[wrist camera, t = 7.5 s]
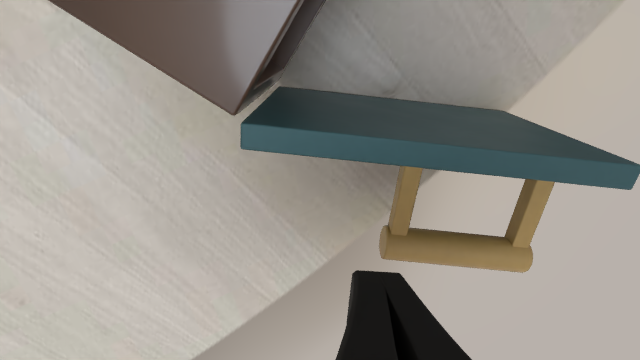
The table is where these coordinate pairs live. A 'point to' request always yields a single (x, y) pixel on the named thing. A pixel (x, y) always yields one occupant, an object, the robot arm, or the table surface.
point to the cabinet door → (436, 163)
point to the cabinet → (206, 40)
